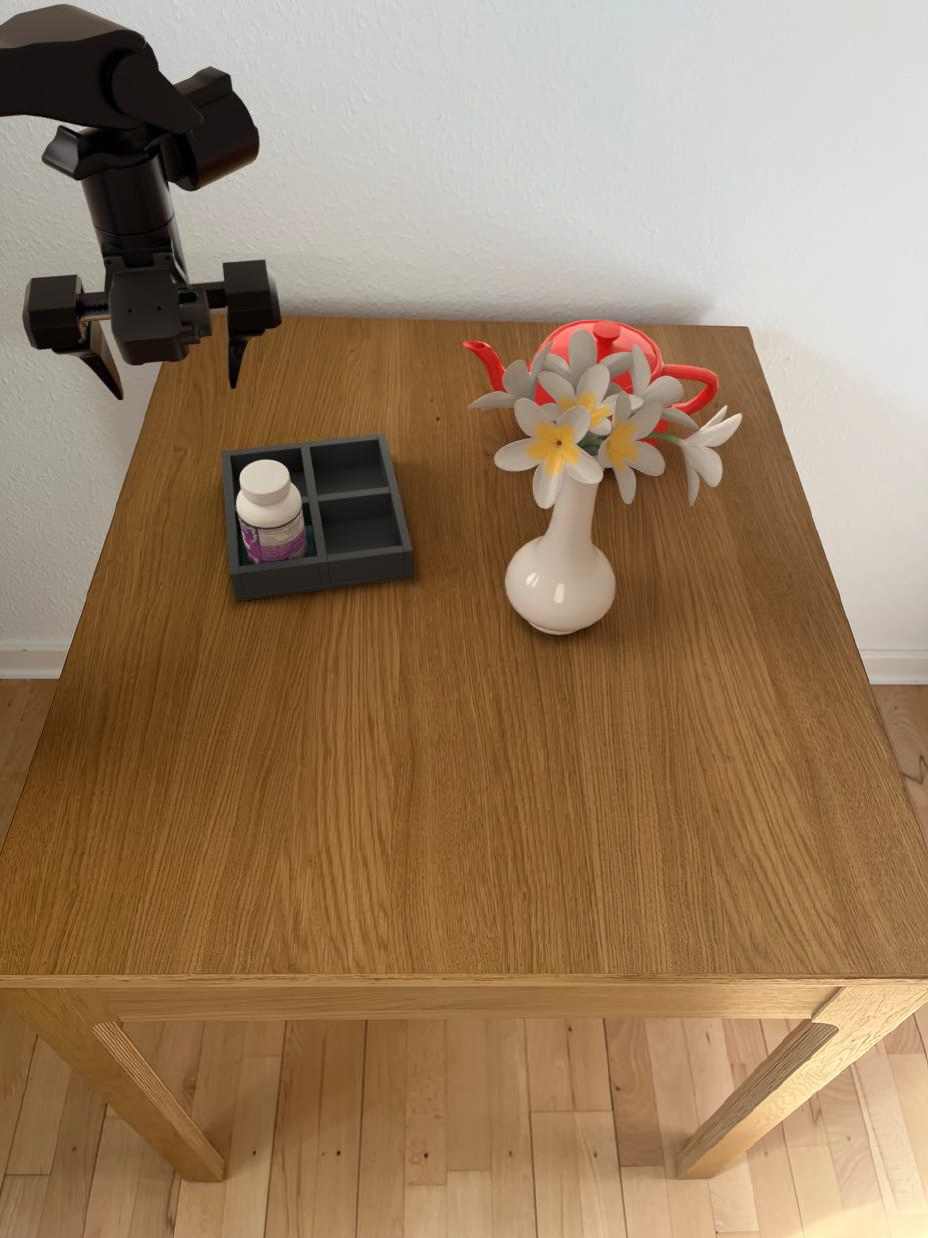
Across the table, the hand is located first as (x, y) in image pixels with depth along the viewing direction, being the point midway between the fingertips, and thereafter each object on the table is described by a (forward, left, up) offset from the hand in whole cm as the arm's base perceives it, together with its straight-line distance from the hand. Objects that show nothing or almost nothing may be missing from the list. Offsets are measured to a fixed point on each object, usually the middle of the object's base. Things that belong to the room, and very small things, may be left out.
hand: (177, 391), depth 79 cm
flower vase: (+30, -19, -12) cm, 37 cm away
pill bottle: (+6, -10, -11) cm, 16 cm away
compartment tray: (+10, -6, -12) cm, 17 cm away
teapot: (+38, +3, -12) cm, 40 cm away
